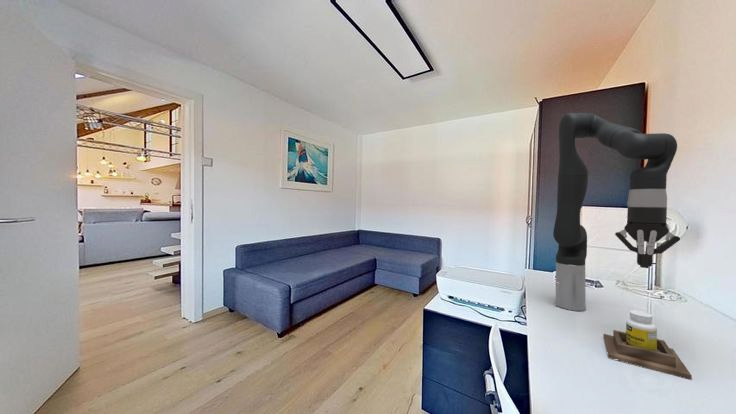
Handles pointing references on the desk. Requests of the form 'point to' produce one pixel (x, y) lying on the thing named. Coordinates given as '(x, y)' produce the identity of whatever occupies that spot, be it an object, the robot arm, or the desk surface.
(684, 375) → the cup holder
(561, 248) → the robot arm
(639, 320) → the supplement bottle
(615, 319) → the desk surface
